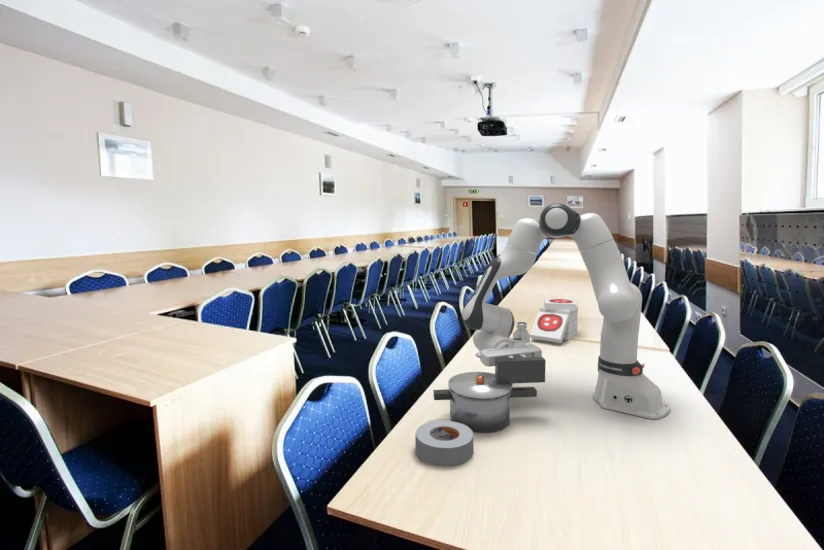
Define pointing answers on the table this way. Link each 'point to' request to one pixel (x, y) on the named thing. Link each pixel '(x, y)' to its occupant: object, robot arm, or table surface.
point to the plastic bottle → (522, 332)
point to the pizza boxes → (556, 320)
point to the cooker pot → (482, 409)
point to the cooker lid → (498, 378)
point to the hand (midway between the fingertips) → (523, 363)
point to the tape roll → (444, 443)
